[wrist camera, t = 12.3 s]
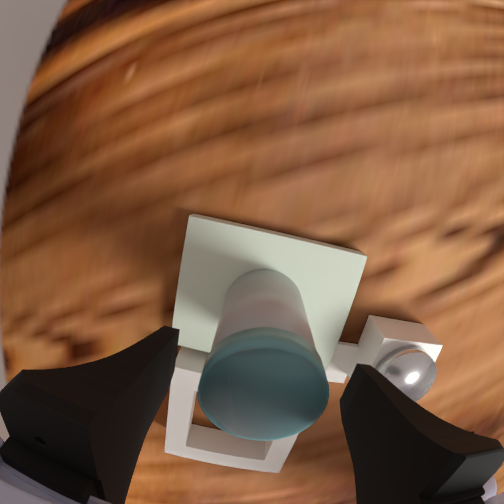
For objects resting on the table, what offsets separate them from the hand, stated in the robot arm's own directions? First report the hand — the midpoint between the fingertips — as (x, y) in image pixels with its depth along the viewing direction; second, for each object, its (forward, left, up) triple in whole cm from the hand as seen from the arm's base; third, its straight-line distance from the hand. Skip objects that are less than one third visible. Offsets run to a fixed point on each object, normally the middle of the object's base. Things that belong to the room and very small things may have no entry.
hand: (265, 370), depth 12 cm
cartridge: (0, 0, -6) cm, 6 cm away
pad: (0, 0, -7) cm, 7 cm away
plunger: (-9, +2, -7) cm, 11 cm away
